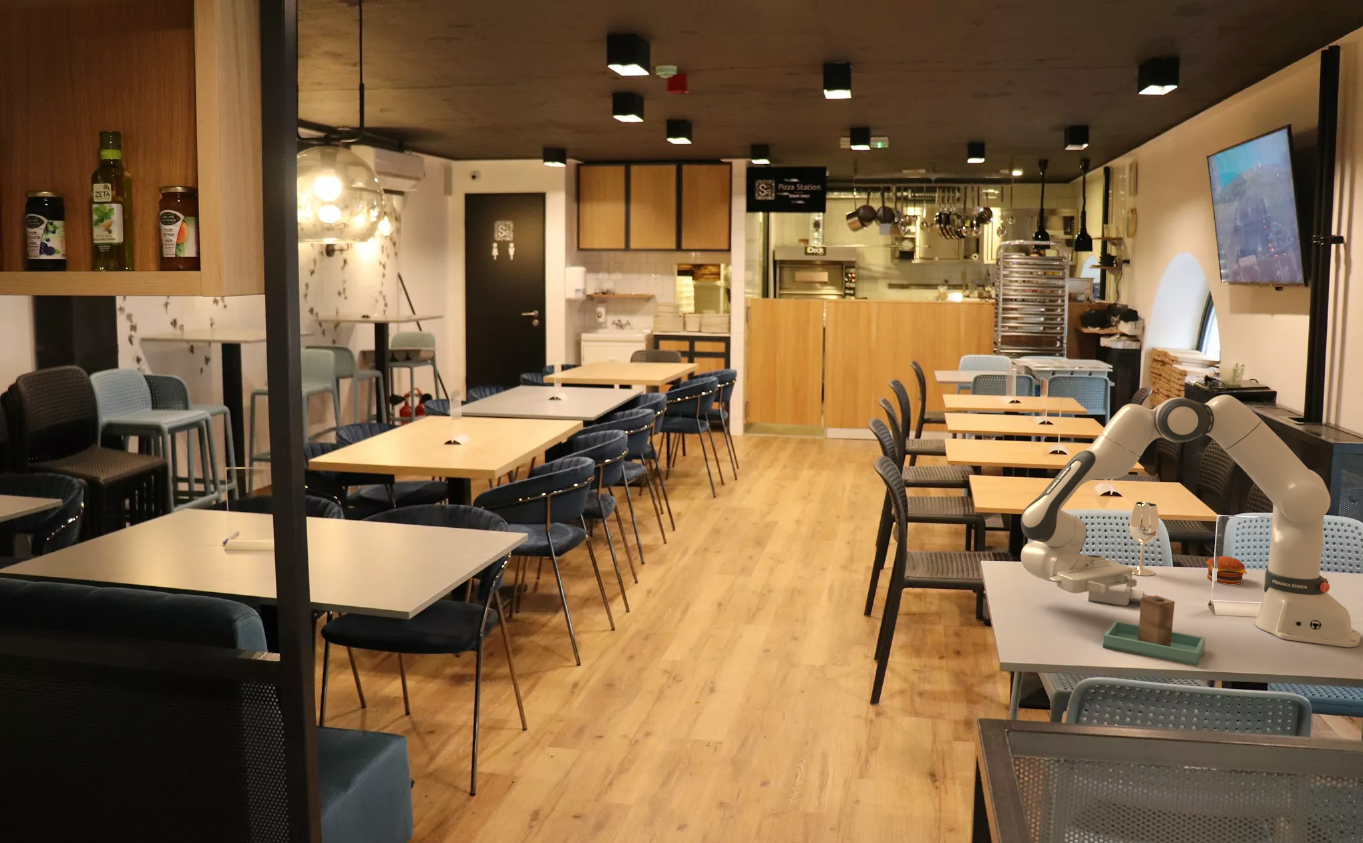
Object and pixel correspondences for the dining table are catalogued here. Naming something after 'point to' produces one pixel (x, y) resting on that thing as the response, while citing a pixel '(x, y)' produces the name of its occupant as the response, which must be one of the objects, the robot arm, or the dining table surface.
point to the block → (1156, 620)
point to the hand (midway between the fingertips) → (1120, 586)
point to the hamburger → (1227, 570)
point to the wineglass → (1144, 530)
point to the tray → (1180, 651)
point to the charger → (1117, 595)
